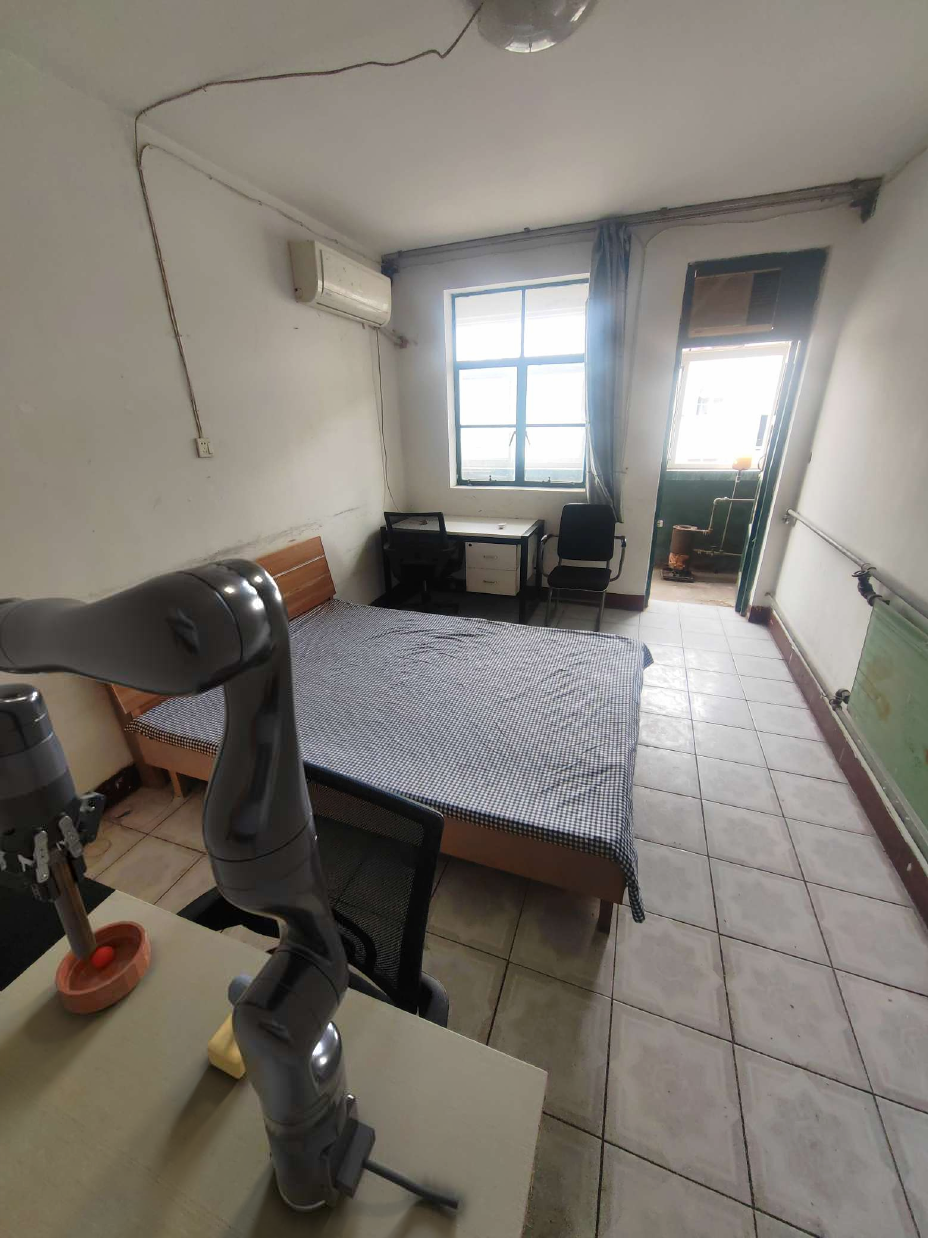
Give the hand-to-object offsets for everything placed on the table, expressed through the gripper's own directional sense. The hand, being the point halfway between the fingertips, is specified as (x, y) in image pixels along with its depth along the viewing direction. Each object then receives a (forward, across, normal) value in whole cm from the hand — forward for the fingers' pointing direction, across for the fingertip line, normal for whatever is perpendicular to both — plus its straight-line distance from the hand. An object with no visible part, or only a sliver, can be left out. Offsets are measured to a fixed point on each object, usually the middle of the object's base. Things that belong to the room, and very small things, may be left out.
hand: (64, 887), depth 59 cm
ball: (+30, +8, +14) cm, 34 cm away
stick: (+11, 0, 0) cm, 11 cm away
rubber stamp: (+32, +8, -17) cm, 37 cm away
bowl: (+32, +7, +12) cm, 35 cm away
